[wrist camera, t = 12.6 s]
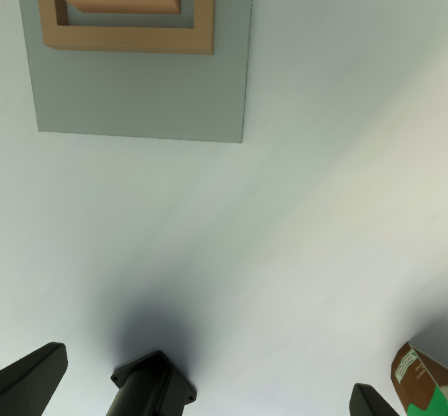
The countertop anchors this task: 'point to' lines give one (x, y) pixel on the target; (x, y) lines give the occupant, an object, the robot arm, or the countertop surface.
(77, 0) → the terracotta block
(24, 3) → the base slab
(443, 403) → the food container
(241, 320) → the countertop surface
